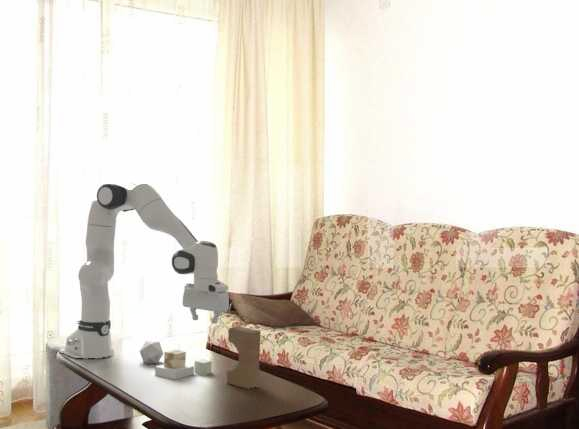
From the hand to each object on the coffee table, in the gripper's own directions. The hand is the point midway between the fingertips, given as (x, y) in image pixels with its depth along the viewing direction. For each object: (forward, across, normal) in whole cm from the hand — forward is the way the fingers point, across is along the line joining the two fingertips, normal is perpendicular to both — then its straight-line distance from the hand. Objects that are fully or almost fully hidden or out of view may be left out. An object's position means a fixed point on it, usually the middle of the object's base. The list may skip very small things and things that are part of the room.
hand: (204, 321), depth 273 cm
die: (+19, -25, -2) cm, 32 cm away
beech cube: (+16, -6, -9) cm, 20 cm away
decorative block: (+20, +21, -3) cm, 29 cm away
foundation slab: (+19, -6, -9) cm, 22 cm away
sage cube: (+20, 0, 0) cm, 20 cm away
